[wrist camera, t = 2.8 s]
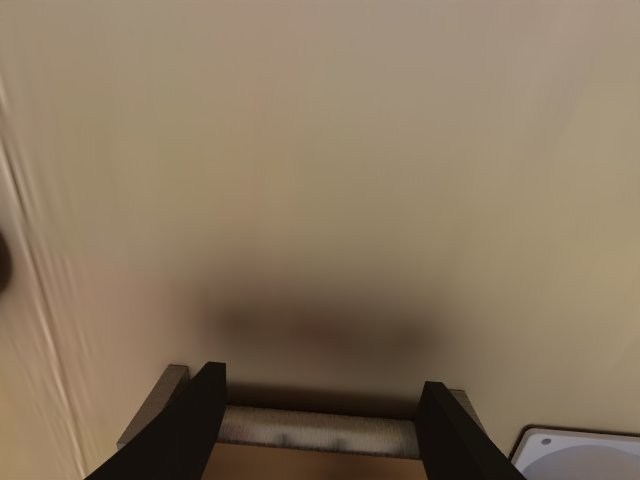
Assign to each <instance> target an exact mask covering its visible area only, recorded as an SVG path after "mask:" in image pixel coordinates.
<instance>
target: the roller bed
mask: <svg viewBox="0 0 640 480" xmlns="http://www.w3.org/2000/svg"><path fill="white" fill-rule="evenodd" d="M188 383H189V378H188V367H185V366H174V365H168V367H167V368H166V370H165V371H164V373H163V374H162V376H161V377H160V379H159V380H158V382H157V383H156V385H155V386H154V388H153V389H152V391H151V392H150V394H149V395H148V397H147V398H146V400H145V401H144V403H143V404H142V406H141V407H140V409H139V410H138V412H137V413H136V415H135V416H134V418H133V419H132V421H131V422H130V424H129V425H128V427H127V428H126V430H125V431H124V433H123V434H122V436H121V437H120V439H119V440H118V442H117V443H116V444H117V449H118V451H119V450H120V449H121V448H122V447H123V446H124V445H126V444H127V443H128V442H129V441H130V440H131V439H132V438H133V437H134V436H136V435H137V434H138V433H139V432H140V431H141V430H142V429H143V428H144V427H145V426H146V425H147V424H148V423H149V422H150V421H152V420H153V419H154V418H155V417H156V416H157V415H158V414H159V413H160V412H161V411H162V410H163V409H164V408H165V407H166V406H167V405H168V404H169V403H170V402H171V401H172V400H173V399H174V398H175V397H176V396H177V395H178V394H179V392H180V391H181V390H182V389H183V388H184V387H185V386H186V385H187V384H188ZM449 391H450V392H451V393H452V395H453V396H454V397H455V398H456V399H457V401H458V402H459V403H460V404H461V406H462V407H463V408H464V409H465V410H466V412H467V413H468V414H469V415H470V416H471V418H472V419H473V420H474V421H475V422H476V423H477V425H478V426H479V427H480V428H481V429H482V431H483V432H484V433H485V434H486V435H487V433H486V432H485V430H484V428H483V426H482V424H481V422H480V420H479V418H478V416H477V414H476V412H475V411H474V409H473V407H472V405H471V403H470V401H469V399H468V397H467V395H466V393H465V391H457V390H449ZM487 436H488V435H487ZM215 443H223V444H234V445H246V446H258V447H269V448H281V449H293V450H304V451H316V452H328V453H339V454H351V455H363V456H374V457H386V458H398V459H409V460H421V461H422V459H421V455H420V451H419V446H418V441H417V436H416V431H415V425H414V421H404V420H393V419H381V418H370V417H358V416H347V415H335V414H324V413H312V412H301V411H289V410H278V409H266V408H255V407H243V406H232V405H227V407H226V410H225V414H224V417H223V421H222V424H221V427H220V431H219V434H218V437H217V440H216V442H215Z"/></svg>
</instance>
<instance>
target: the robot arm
mask: <svg viewBox="0 0 640 480" xmlns="http://www.w3.org/2000/svg"><path fill="white" fill-rule="evenodd" d="M226 407H227V391H226V363H220V362H207V363H206V364H205V365H204V366H203V367H202V369H201V370H200V371H199V372H198V373H197V374H196V375H195V376H194V377H193V379H192V380H191V381H190V382H189V383H188V384H187V385H186V386H185V387H184V388H183V389H182V390H181V391H180V392H179V394H178V395H177V396H176V397H175V398H174V399H173V400H172V401H171V402H170V403H169V404H168V405H167V406H166V407H165V408H164V409H163V410H162V411H161V412H160V413H159V414H158V415H157V416H156V417H155V418H154V419H153V420H152V421H150V422H149V423H148V424H147V425H146V426H145V427H144V428H143V429H142V430H141V431H140V432H139V433H138V434H137V435H136V436H134V437H133V438H132V439H131V440H130V441H129V442H128V443H127V444H126V445H124V446H123V447H122V448H121V449H120V450H119V451H118V452H116V453H115V454H114V455H113V456H112V457H111V458H109V459H108V460H107V461H106V462H105V463H103V464H102V465H101V466H100V467H99V468H97V469H96V470H95V471H94V472H93V473H91V474H90V475H89V476H87V477H86V478H85V479H84V480H201V477H202V475H203V472H204V470H205V468H206V465H207V463H208V460H209V458H210V455H211V452H212V450H213V447H214V445H215V442H216V440H217V437H218V434H219V431H220V427H221V424H222V421H223V417H224V414H225V410H226ZM414 425H415V431H416V436H417V441H418V446H419V451H420V455H421V459H422V462H423V466H424V469H425V472H426V475H427V479H428V480H640V437H629V436H618V435H606V434H595V433H583V432H572V431H560V430H549V429H537V428H532V429H529V430H527V431H526V432H525V434H524V436H523V438H522V440H521V442H520V444H519V446H518V448H517V450H516V452H515V454H514V456H513V458H512V460H511V462H510V461H509V460H508V459H507V458H506V456H505V455H504V454H503V453H502V452H501V451H500V450H499V449H498V448H497V446H496V445H495V444H494V443H493V442H492V441H491V440H490V439H489V437H488V436H487V435H486V434H485V433H484V432H483V431H482V429H481V428H480V427H479V426H478V425H477V423H476V422H475V421H474V420H473V419H472V418H471V416H470V415H469V414H468V413H467V412H466V410H465V409H464V408H463V407H462V406H461V404H460V403H459V402H458V401H457V399H456V398H455V397H454V396H453V395H452V393H451V392H450V391H449V390H448V389H447V387H446V386H445V385H444V384H443V383H442V382H431V381H425V385H424V388H423V392H422V395H421V398H420V402H419V405H418V409H417V412H416V416H415V419H414Z"/></svg>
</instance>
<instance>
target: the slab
mask: <svg viewBox="0 0 640 480" xmlns="http://www.w3.org/2000/svg"><path fill="white" fill-rule="evenodd" d="M201 480H428V479H427V475H426V472H425V469H424V466H423V462H422V461H421V460H409V459H398V458H386V457H374V456H363V455H351V454H339V453H328V452H316V451H304V450H293V449H281V448H269V447H258V446H246V445H234V444H223V443H215V445H214V447H213V450H212V452H211V455H210V458H209V460H208V463H207V465H206V468H205V470H204V472H203V475H202V477H201Z"/></svg>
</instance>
